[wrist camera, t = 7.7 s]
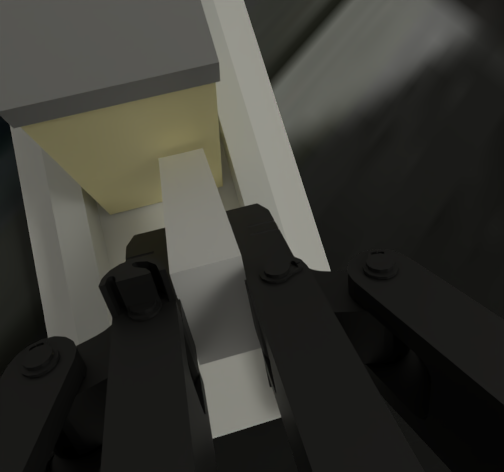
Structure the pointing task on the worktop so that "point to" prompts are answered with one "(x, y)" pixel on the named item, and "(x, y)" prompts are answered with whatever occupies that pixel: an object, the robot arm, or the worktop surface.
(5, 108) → the grey-capped yellow block
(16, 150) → the grey channel fixture
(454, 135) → the worktop surface
